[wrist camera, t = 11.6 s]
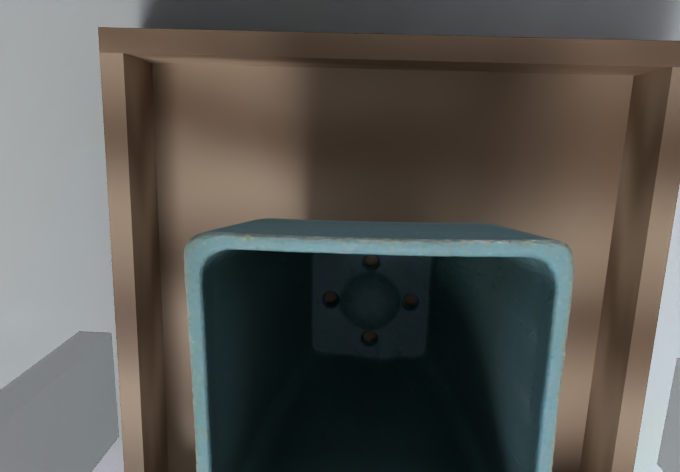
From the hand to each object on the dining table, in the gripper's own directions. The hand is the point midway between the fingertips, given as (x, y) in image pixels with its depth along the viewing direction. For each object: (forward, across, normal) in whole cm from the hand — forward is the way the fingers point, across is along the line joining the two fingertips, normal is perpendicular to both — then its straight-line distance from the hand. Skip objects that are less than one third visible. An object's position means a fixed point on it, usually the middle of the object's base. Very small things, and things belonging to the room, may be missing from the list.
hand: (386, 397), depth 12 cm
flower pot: (+9, 0, -1) cm, 9 cm away
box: (+10, 0, -1) cm, 10 cm away
